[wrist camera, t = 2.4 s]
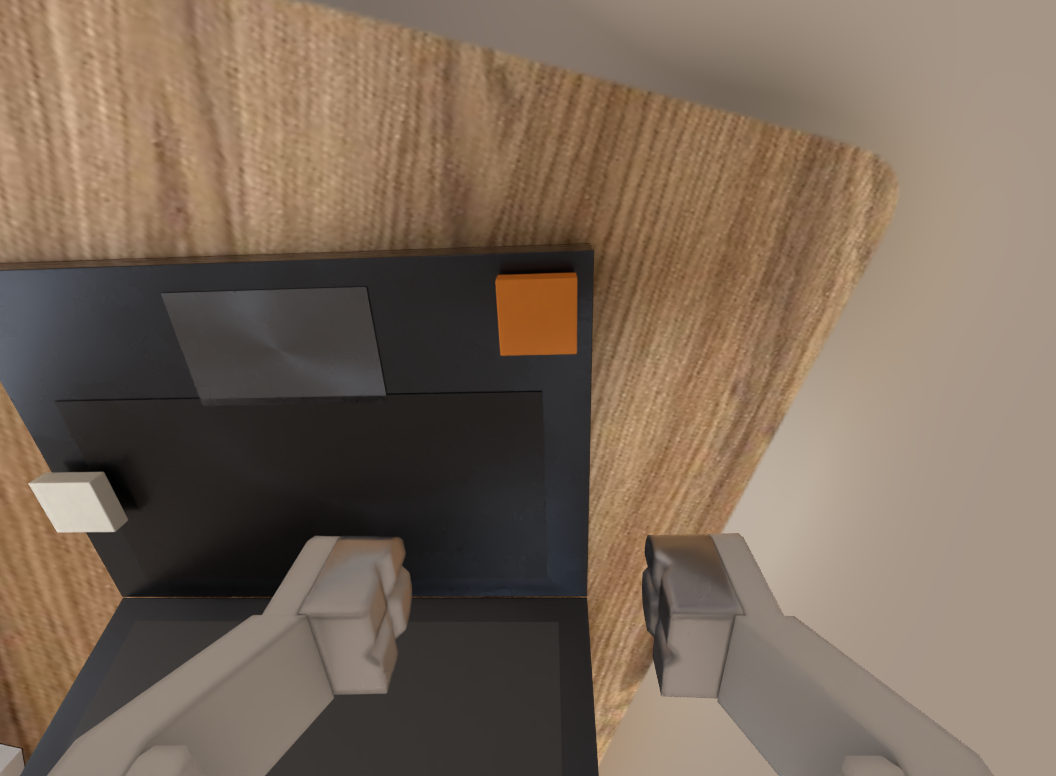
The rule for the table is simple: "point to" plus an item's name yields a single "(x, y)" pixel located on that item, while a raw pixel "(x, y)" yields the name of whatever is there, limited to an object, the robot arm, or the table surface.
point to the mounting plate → (11, 761)
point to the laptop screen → (410, 703)
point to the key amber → (537, 313)
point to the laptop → (310, 413)
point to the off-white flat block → (79, 501)
